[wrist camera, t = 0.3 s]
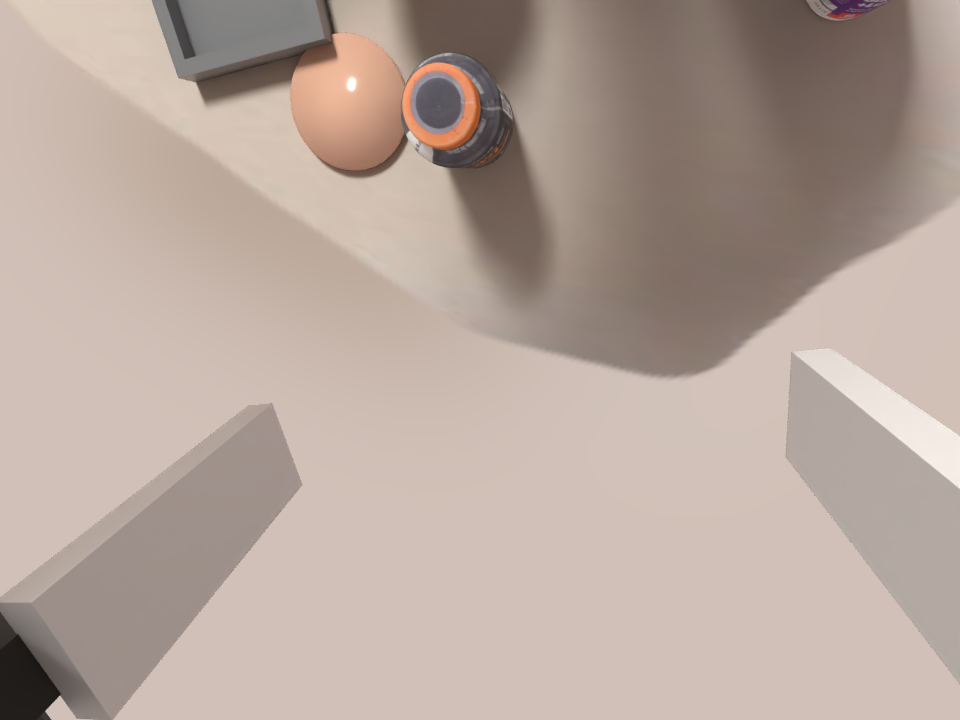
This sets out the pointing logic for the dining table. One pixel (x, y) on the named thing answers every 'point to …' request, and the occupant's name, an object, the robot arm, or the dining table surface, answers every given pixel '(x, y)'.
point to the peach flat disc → (348, 102)
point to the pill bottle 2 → (843, 8)
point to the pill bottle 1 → (456, 112)
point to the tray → (239, 33)
